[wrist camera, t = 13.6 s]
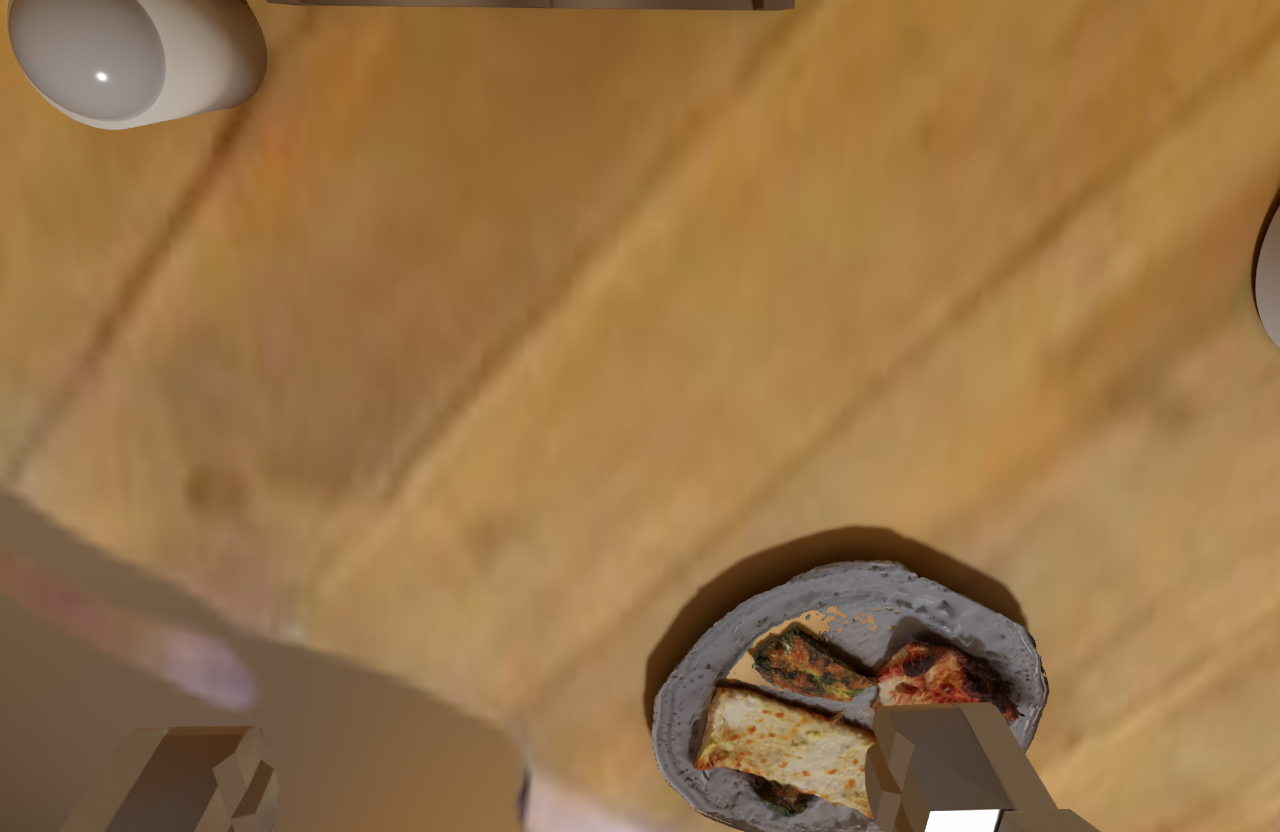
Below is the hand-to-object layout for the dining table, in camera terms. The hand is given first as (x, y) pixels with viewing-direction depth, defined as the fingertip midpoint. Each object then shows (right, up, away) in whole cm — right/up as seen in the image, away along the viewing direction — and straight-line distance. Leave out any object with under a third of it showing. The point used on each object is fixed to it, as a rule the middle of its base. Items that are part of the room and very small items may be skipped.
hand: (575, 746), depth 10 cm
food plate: (+14, -14, +41) cm, 46 cm away
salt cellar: (-17, +20, +22) cm, 34 cm away
